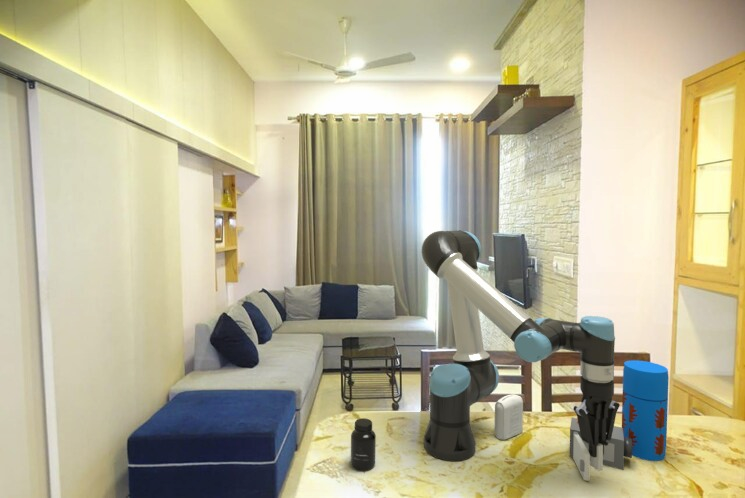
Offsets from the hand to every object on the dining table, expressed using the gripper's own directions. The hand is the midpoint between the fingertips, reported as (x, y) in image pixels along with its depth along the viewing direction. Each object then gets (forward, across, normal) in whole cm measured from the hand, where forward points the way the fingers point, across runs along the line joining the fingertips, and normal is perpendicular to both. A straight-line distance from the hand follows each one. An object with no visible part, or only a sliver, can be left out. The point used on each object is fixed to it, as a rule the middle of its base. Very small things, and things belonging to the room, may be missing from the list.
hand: (596, 467), depth 103 cm
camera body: (+3, +9, +8) cm, 12 cm away
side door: (+3, -1, +5) cm, 5 cm away
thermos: (+4, +24, +6) cm, 25 cm away
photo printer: (+3, -7, +26) cm, 27 cm away
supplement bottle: (+2, -56, +25) cm, 61 cm away
